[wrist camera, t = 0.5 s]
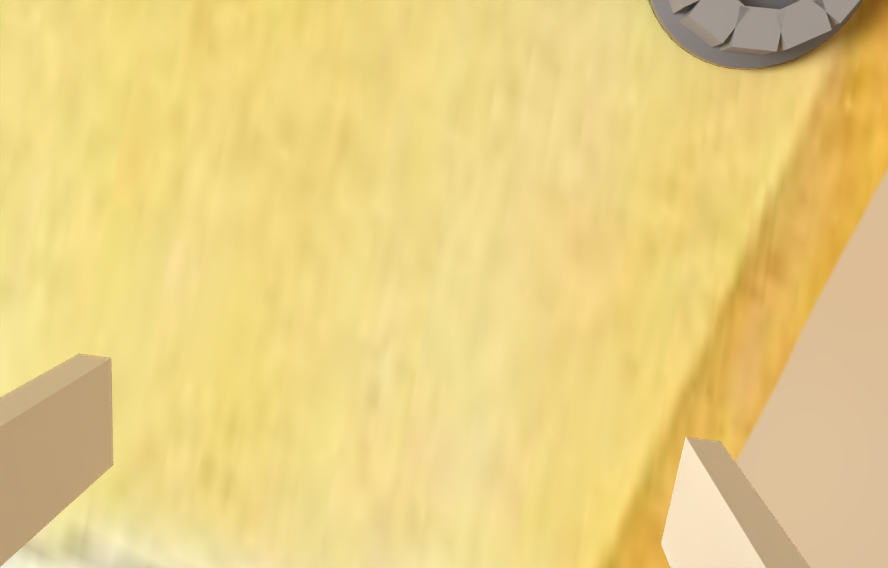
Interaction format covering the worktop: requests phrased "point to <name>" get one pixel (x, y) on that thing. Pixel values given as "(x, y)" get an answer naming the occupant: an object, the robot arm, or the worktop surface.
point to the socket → (751, 28)
